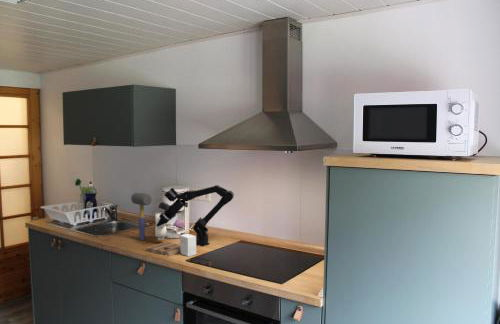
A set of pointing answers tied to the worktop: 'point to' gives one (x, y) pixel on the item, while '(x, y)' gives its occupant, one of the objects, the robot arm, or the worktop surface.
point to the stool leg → (160, 228)
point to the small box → (188, 245)
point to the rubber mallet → (141, 210)
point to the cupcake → (179, 223)
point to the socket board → (165, 248)
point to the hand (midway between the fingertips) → (158, 224)
